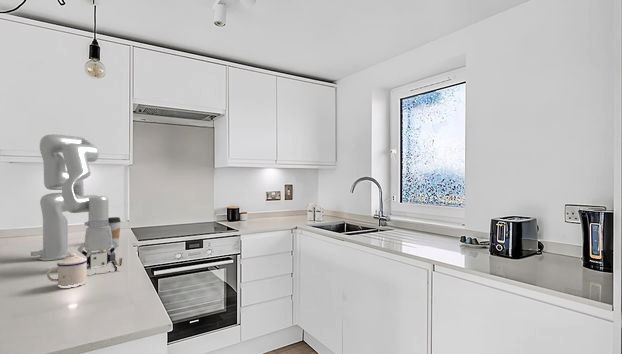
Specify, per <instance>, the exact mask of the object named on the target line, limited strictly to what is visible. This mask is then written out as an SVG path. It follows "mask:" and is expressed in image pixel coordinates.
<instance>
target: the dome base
mask: <svg viewBox="0 0 622 354" xmlns="http://www.w3.org/2000/svg"><path fill="white" fill-rule="evenodd" d="M115 260H116V253H115V250H114V251H113V252H112V253H111V254H110V261H115Z"/></svg>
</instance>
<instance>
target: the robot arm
mask: <svg viewBox="0 0 622 354" xmlns="http://www.w3.org/2000/svg"><path fill="white" fill-rule="evenodd" d="M39 153H40V155H41V157H42V163H43V184H44V187H45V188H46V190H49V191H61V192H51V193H50V192H49V193H46V194H44V195H43V196H41V198H40V201H39V205H40V209H41V213H42V249H40V250H38V251H30V256H31V257H32V256H33V257H36V256H38V260H39V261H45V262H47V261H59V260H63V259H65V258H66V257H69V254H71V253H72V252H68V241H69V239H68V235H69V234H68V232H69V231H68V228H69V227H68V226H69V225H68V219H67V217H66V216H65V215H64V214H63V213H65V212H69V214H70V213H71V214H79V213H88V216H87V217H88V218H87V219H88V220H87V221H85V222H84V226H87V227H86V230H85V235H84V242H83V243H82V244H81V245H80V246H79V247H78V248H77V252H79V253H80V254H82V255H83V256H85V258H86V259H87V265H88V267H90V266H91V257H90V254H91V252H97V251H99V250H105V249H106V251H107V265H108V264H109V262H108V261H110V254H111V253H112V252H113V251H114V252H115V250H117V248H118V247H119V243H115V242H114V241H113V240H112V232H111V227H110V226H108V218H109V198H108V196H105V195H103V196H102V195H100V196H99V195H96V194H95V195H94V194H93V195H92V194H90V195H89V194H87V195H84V193H85V192H84V180H85V179H87V178H89V177H90V176H91V173H92V172H91V169H90V165H89V163H92V162H96V161H97V160H98V159H99V154H100V153H99V149H97V147H96V146H95V145H94V144H93V143H91V142H90V141H89V140H87V139H85V138H84V137H82V136H75V135H65V134H45V135H44V136H43V137H42V138H41V139H40V141H39ZM60 153H62V155H61V154H60ZM109 249H110V250H109Z"/></svg>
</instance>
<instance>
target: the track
mask: <svg viewBox="0 0 622 354" xmlns="http://www.w3.org/2000/svg"><path fill="white" fill-rule="evenodd" d="M113 262H114V263H113ZM113 262H112V263H113V265H114V264H115V265H118V266H119V264H122V265H123V258H122V257H120V258H119V259H118V261H117V260H116V259H115V261H113ZM115 265H114V266H115Z"/></svg>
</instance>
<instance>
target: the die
mask: <svg viewBox="0 0 622 354" xmlns="http://www.w3.org/2000/svg"><path fill="white" fill-rule="evenodd" d="M90 257H91V267H94V266H103V265H107V266H108V264H107V252H106V251H99V250H97V251H92V252H91V254H90ZM91 267H90V268H91Z"/></svg>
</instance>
